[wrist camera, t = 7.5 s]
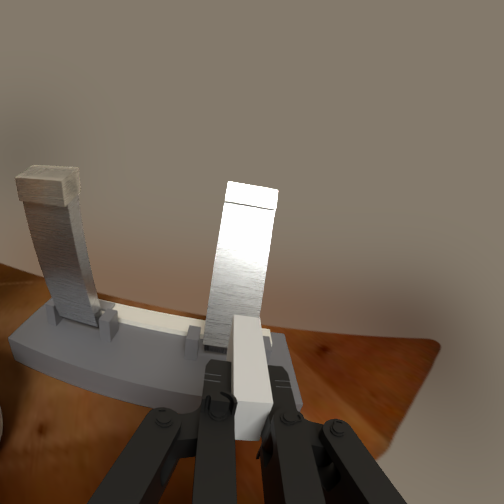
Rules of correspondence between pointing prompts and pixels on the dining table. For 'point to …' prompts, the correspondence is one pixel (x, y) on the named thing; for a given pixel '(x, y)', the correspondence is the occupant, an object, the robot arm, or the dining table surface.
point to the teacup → (1, 423)
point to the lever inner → (60, 239)
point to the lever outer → (239, 261)
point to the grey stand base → (131, 354)
